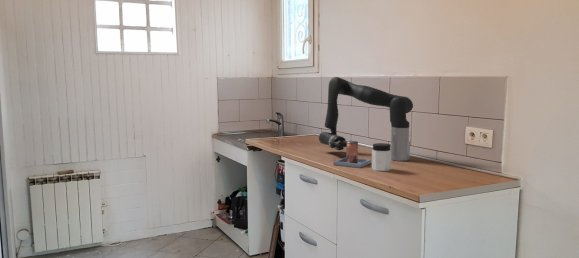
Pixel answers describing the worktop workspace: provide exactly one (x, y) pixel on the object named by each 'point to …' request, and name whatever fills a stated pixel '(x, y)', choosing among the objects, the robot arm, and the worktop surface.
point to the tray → (360, 163)
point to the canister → (352, 152)
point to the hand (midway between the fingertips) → (347, 146)
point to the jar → (381, 157)
